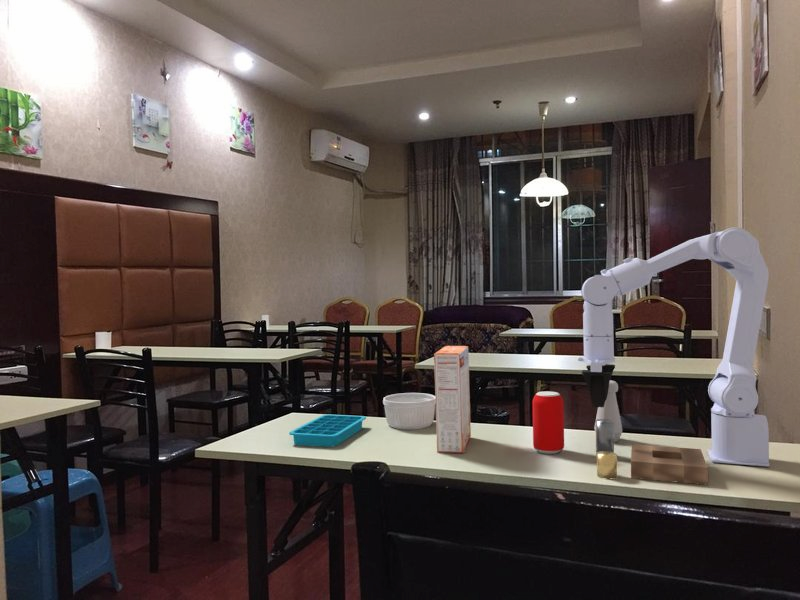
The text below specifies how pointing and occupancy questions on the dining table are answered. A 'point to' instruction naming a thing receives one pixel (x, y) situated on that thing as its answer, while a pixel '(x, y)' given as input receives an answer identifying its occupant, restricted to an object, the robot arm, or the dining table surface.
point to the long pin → (604, 435)
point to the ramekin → (409, 410)
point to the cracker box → (452, 399)
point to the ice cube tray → (327, 430)
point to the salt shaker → (611, 410)
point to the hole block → (668, 464)
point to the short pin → (606, 464)
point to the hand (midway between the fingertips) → (599, 403)
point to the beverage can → (548, 422)
